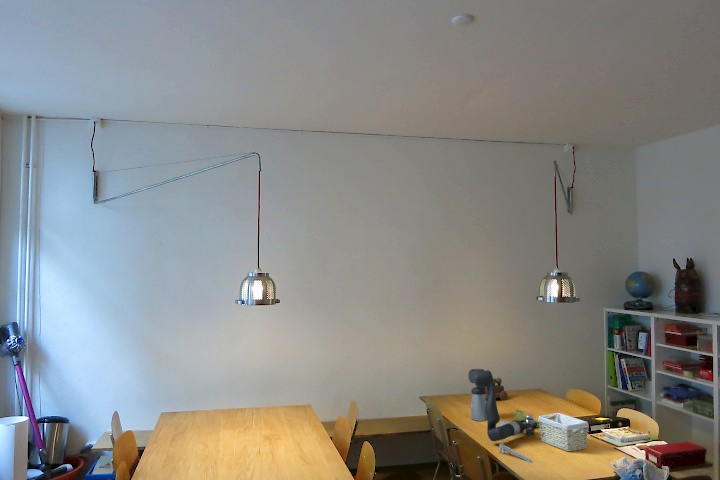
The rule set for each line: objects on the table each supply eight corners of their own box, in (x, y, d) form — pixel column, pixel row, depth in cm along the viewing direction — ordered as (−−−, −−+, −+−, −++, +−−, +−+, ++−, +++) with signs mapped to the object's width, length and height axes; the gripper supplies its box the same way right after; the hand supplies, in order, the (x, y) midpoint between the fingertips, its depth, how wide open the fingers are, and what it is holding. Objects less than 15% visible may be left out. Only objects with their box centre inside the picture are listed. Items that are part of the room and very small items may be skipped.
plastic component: (542, 424, 335) (528, 418, 334) (537, 434, 335) (524, 429, 333) (527, 413, 355) (514, 408, 353) (522, 423, 354) (510, 418, 353)
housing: (524, 434, 322) (523, 415, 323) (527, 432, 326) (526, 414, 327) (532, 435, 319) (531, 417, 320) (535, 433, 323) (534, 415, 324)
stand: (498, 431, 329) (498, 424, 330) (504, 427, 337) (504, 421, 338) (514, 434, 324) (513, 427, 324) (519, 429, 332) (519, 423, 332)
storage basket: (537, 441, 309) (536, 415, 310) (559, 437, 315) (558, 411, 316) (568, 453, 287) (566, 425, 288) (591, 449, 293) (589, 421, 294)
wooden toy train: (487, 403, 401) (486, 380, 402) (478, 399, 411) (477, 378, 412) (509, 399, 408) (508, 378, 409) (500, 396, 419) (499, 375, 420)
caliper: (499, 453, 291) (498, 441, 291) (500, 453, 292) (499, 441, 292) (532, 463, 275) (531, 450, 276) (533, 462, 276) (532, 450, 276)
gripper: (524, 424, 309) (540, 418, 319) (504, 419, 320) (520, 414, 330) (525, 437, 308) (541, 431, 318) (504, 432, 319) (520, 426, 329)
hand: (530, 422), depth 324 cm, fingers open, 8 cm apart
